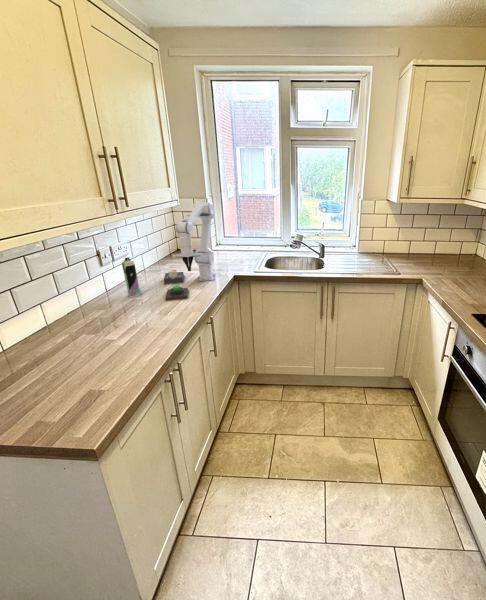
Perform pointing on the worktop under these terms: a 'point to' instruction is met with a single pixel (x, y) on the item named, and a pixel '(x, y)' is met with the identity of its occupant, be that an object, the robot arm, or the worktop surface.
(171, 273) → the dial
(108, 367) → the worktop surface
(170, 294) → the housing
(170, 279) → the control panel
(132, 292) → the spray can
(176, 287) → the button
